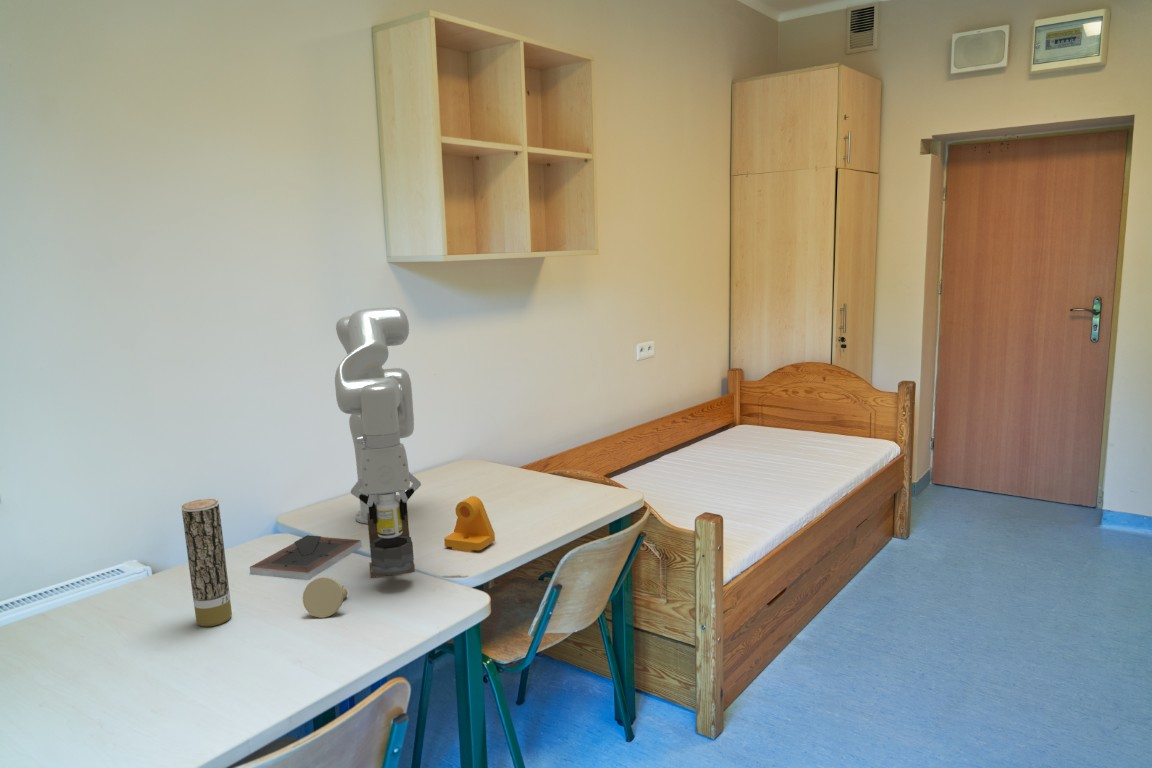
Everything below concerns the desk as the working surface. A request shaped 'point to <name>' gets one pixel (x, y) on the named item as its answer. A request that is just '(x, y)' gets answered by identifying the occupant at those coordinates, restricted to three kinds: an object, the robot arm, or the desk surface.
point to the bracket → (471, 527)
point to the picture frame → (306, 557)
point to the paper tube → (207, 562)
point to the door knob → (323, 597)
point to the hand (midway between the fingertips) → (388, 519)
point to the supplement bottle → (388, 516)
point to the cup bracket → (390, 551)
